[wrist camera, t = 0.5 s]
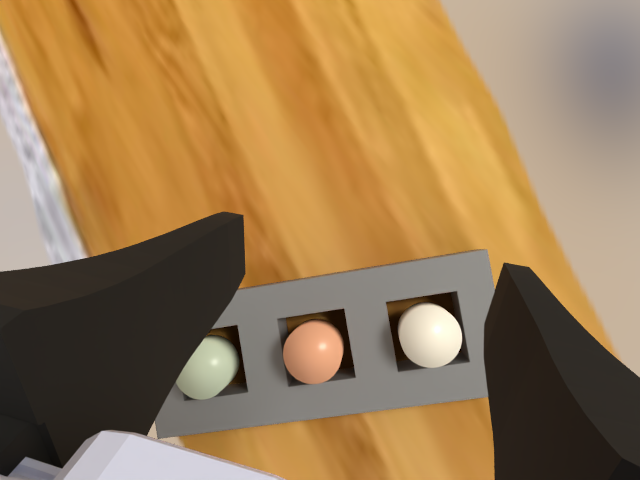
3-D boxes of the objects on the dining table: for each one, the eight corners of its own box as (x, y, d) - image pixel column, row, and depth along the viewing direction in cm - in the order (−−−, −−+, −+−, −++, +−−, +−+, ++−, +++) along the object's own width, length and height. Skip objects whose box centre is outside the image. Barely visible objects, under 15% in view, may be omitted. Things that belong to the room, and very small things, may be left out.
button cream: (402, 361, 32) (405, 371, 29) (393, 306, 32) (394, 311, 30) (459, 353, 32) (467, 363, 29) (449, 298, 32) (456, 302, 29)
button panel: (175, 423, 36) (157, 438, 33) (156, 302, 37) (137, 306, 34) (501, 380, 33) (513, 393, 30) (477, 249, 34) (487, 249, 31)
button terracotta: (295, 376, 33) (288, 387, 30) (286, 323, 33) (278, 329, 30) (348, 369, 32) (346, 379, 30) (339, 315, 33) (336, 320, 30)
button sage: (192, 391, 34) (177, 403, 31) (184, 338, 34) (169, 346, 31) (243, 384, 33) (232, 395, 31) (234, 331, 33) (223, 338, 31)
